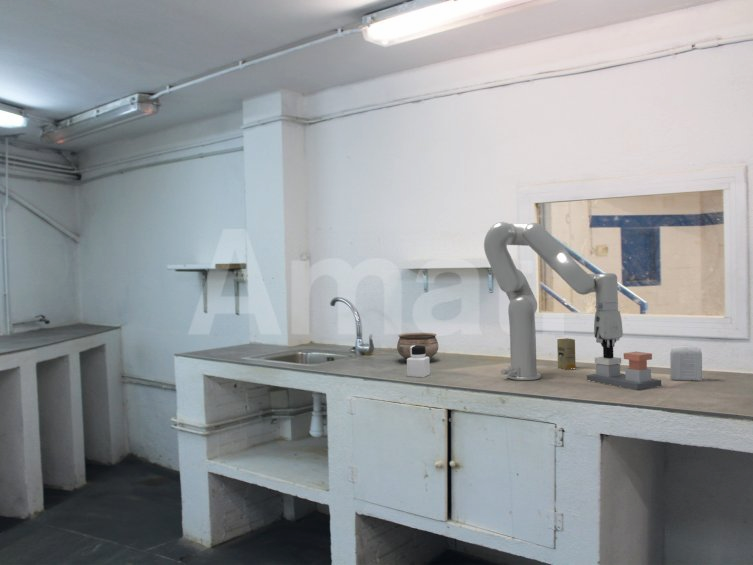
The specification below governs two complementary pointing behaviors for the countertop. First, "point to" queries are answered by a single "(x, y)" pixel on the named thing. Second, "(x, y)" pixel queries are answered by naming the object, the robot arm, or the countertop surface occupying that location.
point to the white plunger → (608, 360)
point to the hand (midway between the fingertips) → (608, 357)
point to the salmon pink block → (638, 360)
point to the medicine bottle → (418, 362)
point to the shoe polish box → (566, 353)
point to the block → (624, 377)
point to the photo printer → (686, 363)
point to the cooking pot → (417, 343)
